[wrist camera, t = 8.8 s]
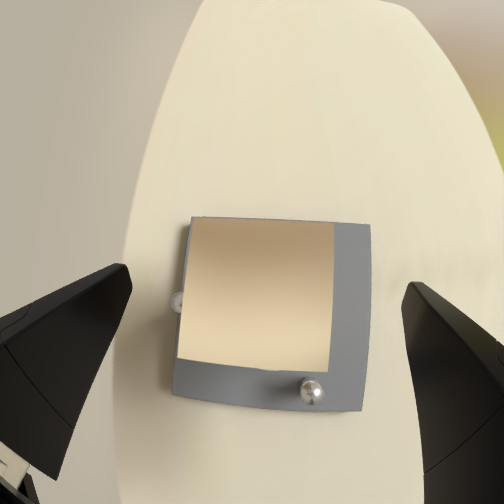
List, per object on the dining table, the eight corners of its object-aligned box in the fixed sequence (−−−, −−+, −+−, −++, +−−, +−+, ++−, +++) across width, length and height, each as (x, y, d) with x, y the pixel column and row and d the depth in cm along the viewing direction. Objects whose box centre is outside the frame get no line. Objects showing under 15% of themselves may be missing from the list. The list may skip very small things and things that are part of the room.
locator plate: (357, 407, 16) (372, 422, 13) (177, 391, 18) (155, 402, 14) (366, 229, 19) (380, 209, 16) (195, 221, 21) (179, 201, 17)
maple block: (304, 348, 16) (328, 371, 7) (237, 343, 17) (177, 357, 7) (309, 282, 17) (333, 223, 8) (243, 278, 18) (193, 218, 8)
